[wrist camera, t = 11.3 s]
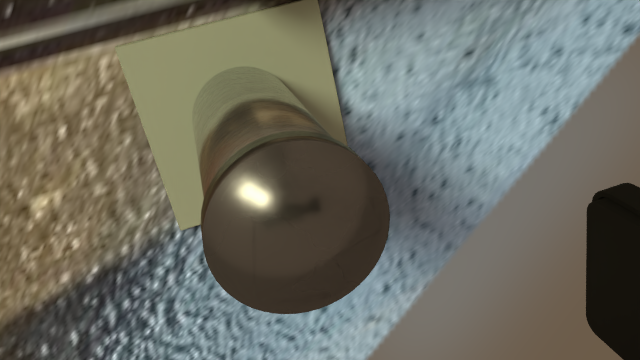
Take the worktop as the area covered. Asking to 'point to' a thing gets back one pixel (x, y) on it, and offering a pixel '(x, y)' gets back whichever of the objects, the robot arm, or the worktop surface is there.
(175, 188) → the mat
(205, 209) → the grey cylindrical piece
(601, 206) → the robot arm
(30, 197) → the worktop surface
